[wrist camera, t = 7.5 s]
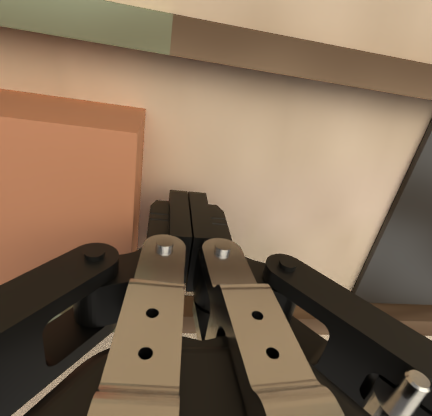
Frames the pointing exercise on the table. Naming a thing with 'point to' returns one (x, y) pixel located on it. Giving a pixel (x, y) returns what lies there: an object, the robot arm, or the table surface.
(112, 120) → the block
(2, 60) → the table surface
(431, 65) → the lane
